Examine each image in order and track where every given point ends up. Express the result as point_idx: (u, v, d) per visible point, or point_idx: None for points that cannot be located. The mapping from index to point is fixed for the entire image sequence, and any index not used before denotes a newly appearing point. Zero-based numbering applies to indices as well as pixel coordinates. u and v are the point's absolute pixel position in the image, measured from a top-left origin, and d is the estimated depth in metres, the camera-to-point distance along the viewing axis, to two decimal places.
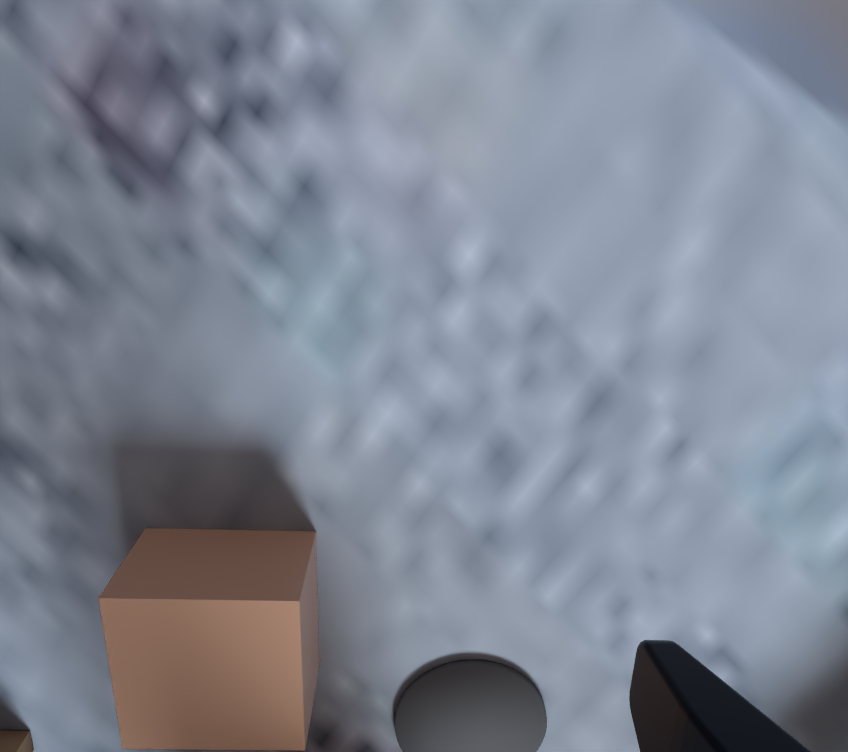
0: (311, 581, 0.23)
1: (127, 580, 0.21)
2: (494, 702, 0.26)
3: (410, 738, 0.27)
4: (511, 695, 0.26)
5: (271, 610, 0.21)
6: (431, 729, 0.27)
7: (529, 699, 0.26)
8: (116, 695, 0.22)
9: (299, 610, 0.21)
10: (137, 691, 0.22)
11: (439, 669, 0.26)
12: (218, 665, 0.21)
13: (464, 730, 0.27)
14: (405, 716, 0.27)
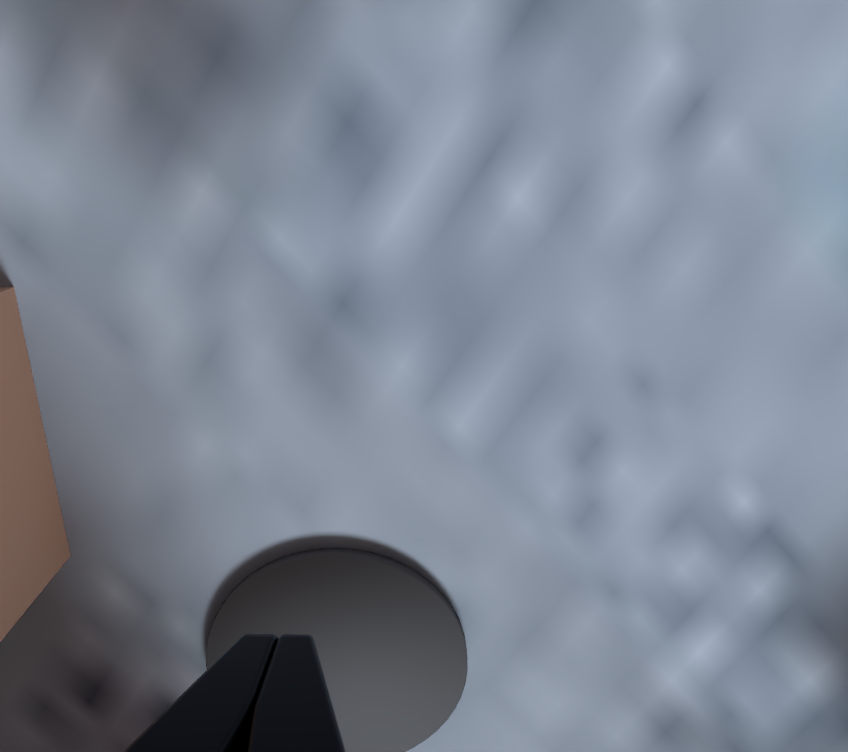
0: None
1: None
2: (374, 625, 0.15)
3: None
4: (403, 612, 0.15)
5: None
6: None
7: (434, 618, 0.15)
8: None
9: None
10: None
11: (274, 564, 0.15)
12: None
13: (326, 675, 0.16)
14: (222, 650, 0.15)
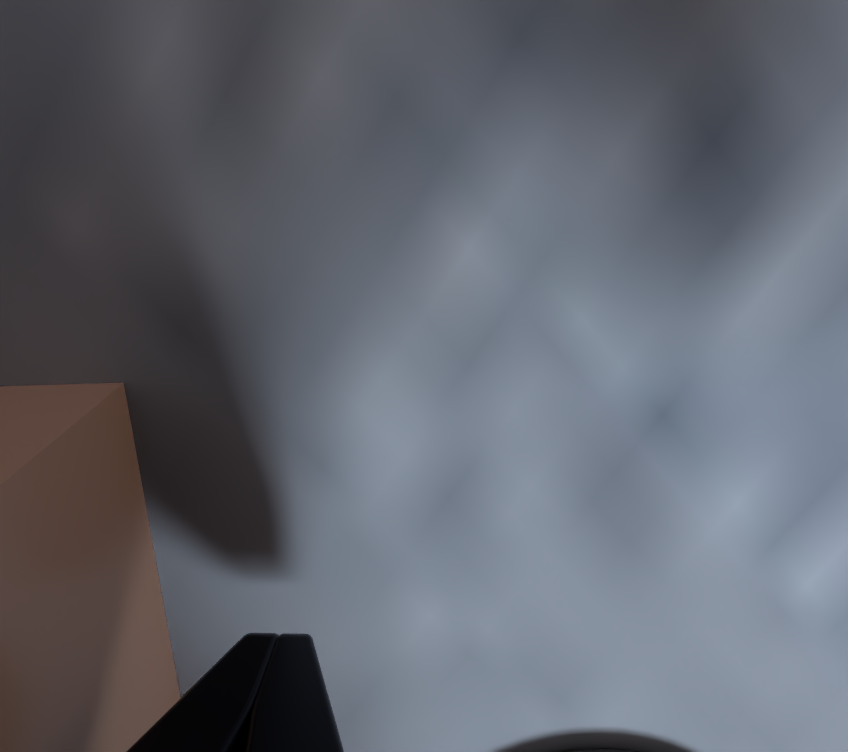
0: (88, 522, 0.07)
1: None
2: None
3: None
4: None
5: None
6: None
7: None
8: None
9: None
10: None
11: None
12: None
13: None
14: None
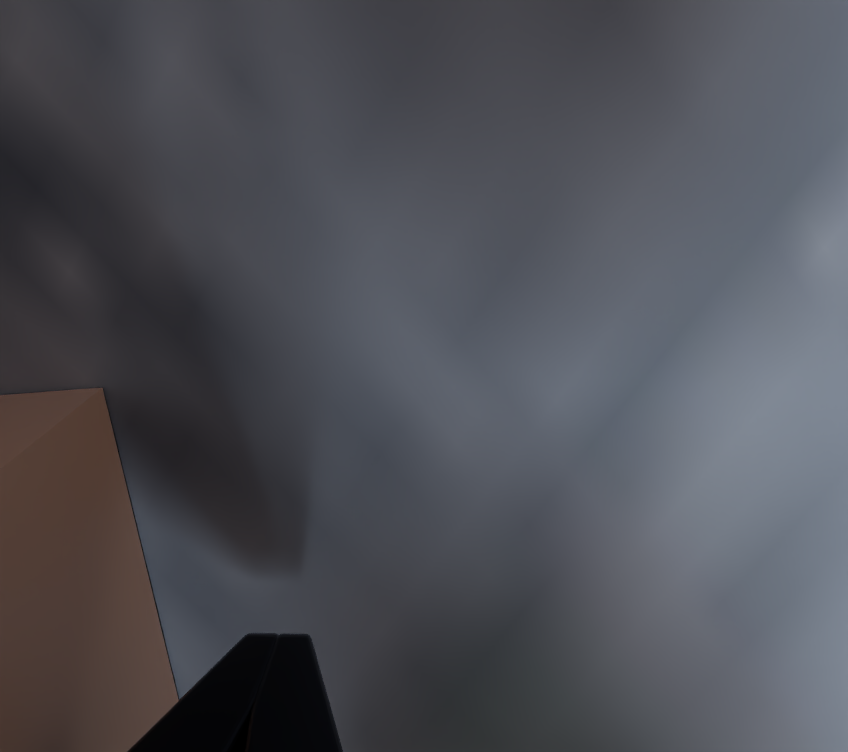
0: (63, 535, 0.07)
1: None
2: None
3: None
4: None
5: None
6: None
7: None
8: None
9: None
10: None
11: None
12: None
13: None
14: None
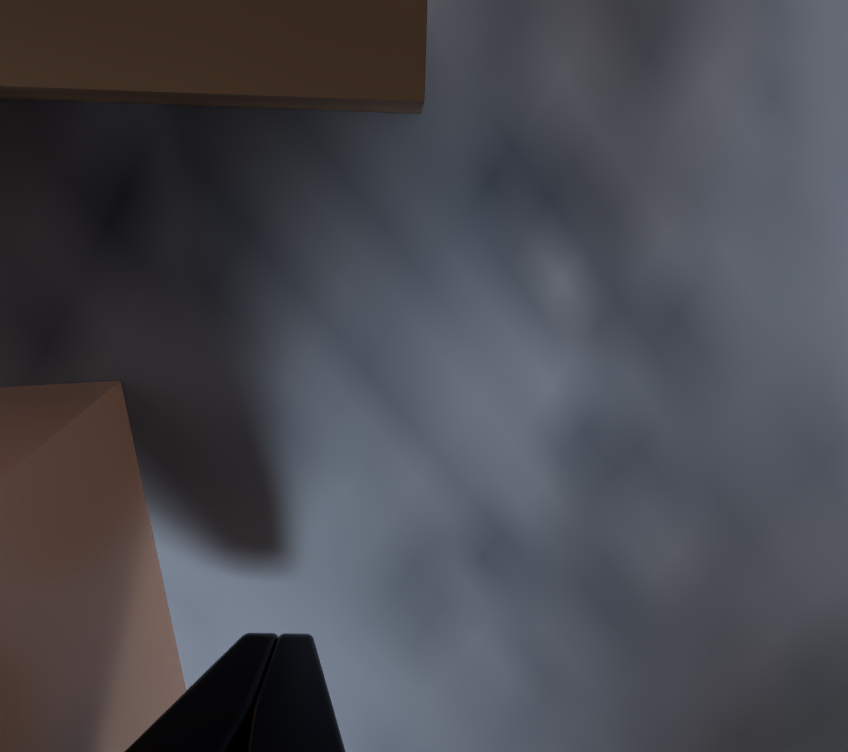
0: (92, 515, 0.08)
1: None
2: None
3: None
4: None
5: None
6: None
7: None
8: None
9: None
10: None
11: None
12: None
13: None
14: None
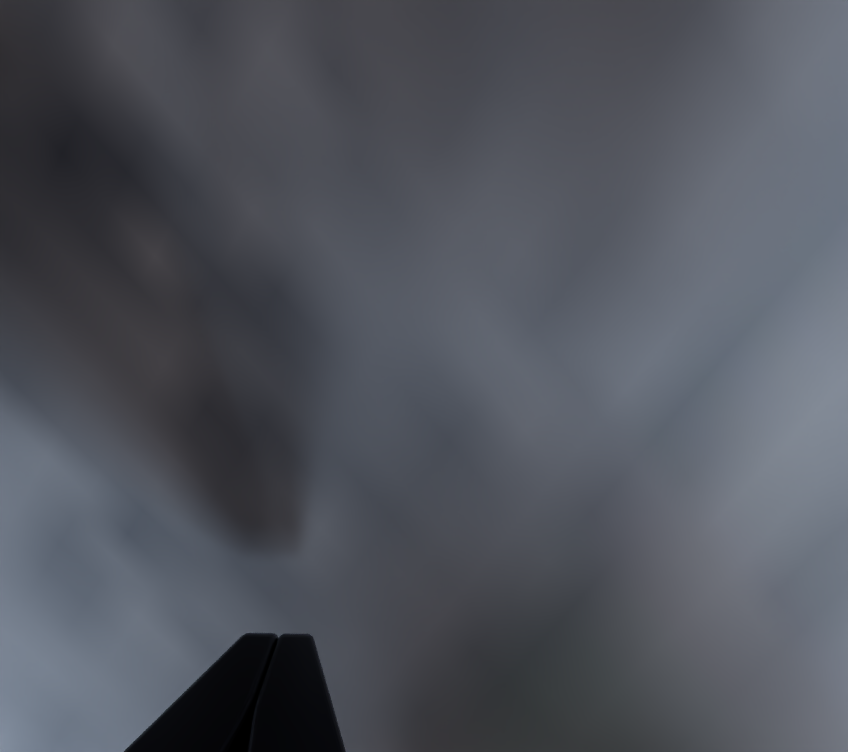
0: None
1: None
2: None
3: None
4: None
5: None
6: None
7: None
8: None
9: None
10: None
11: None
12: None
13: None
14: None
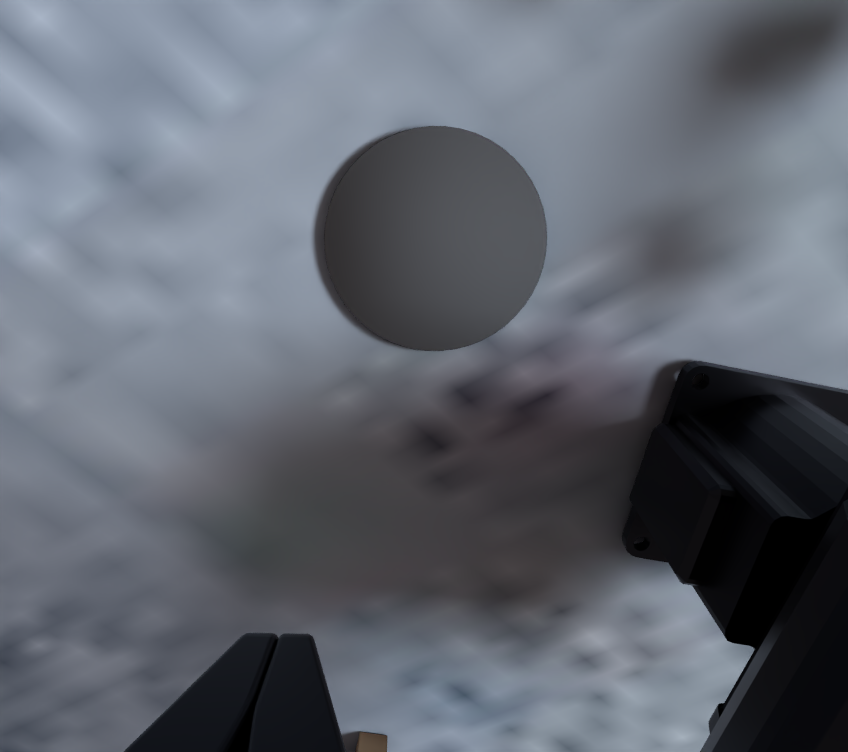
0: None
1: None
2: (397, 203, 0.18)
3: (442, 332, 0.19)
4: (388, 176, 0.18)
5: None
6: (431, 301, 0.19)
7: (399, 149, 0.17)
8: None
9: None
10: None
11: (330, 273, 0.19)
12: None
13: (442, 255, 0.18)
14: (401, 332, 0.19)
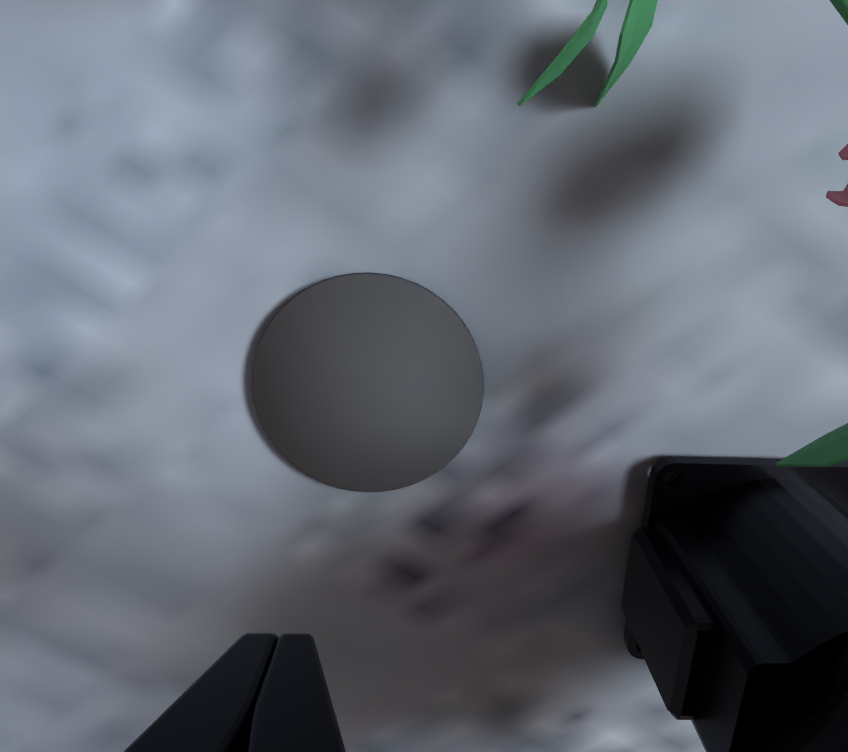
0: None
1: None
2: (320, 357, 0.17)
3: (393, 472, 0.18)
4: (306, 332, 0.17)
5: None
6: (376, 444, 0.18)
7: (311, 305, 0.17)
8: None
9: None
10: None
11: (268, 433, 0.18)
12: None
13: (377, 398, 0.18)
14: (351, 478, 0.18)
